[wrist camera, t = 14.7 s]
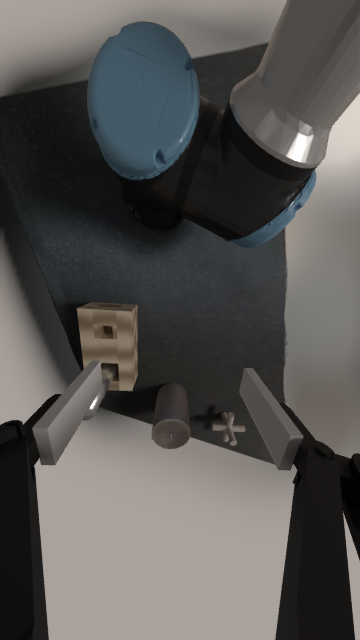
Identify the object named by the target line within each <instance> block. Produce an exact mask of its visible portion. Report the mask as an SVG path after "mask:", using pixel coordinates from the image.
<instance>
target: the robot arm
mask: <svg viewBox="0 0 360 640" xmlns="http://www.w3.org/2000/svg"><path fill="white" fill-rule="evenodd" d="M359 93H360V0H287V2H286V4H285V7H284V9H283V11H282V14H281V16H280V19H279V21H278V23H277V26H276V28H275V30H274V33H273V35H272V38H271V40H270V42H269V45H268V47H267V49H266V52H265V54H264V56H263V59H262V61H261V63H260V65H259V67H258V69H257V70H256V72H254V73H253V74H251V75H250V76H248V77H247V78H245V79H244V80H242V81H241V82H239V83H238V84H237V85H235V87H234V88H233V90H232V92H231V95H230V98H229V100H228V103H227V106H226V109H225V110H223V109H221V108H220V107H218V106H217V105H215V104H214V103H212V102H210V101H209V100H207V99H206V98H204V97H203V96H201V95H200V94H199V83H198V79H197V75H196V73H195V71H194V69H193V66H192V59H191V56H190V54H189V53H188V51H187V49H186V47H185V46H184V44H183V43H182V42H181V40H180V39H179V38H178V37H177V36H176V35H175V34H174V33H173V32H171V31H170V30H169V29H167V28H166V27H164V26H161V25H159V24H156V23H152V22H135V23H131V24H129V25H126V26H124V27H122V29H121V31H120V33H119V34H118V35H116V36H113V37H109V38H108V39H107V41H106V42H105V43H104V44H103V46H102V47H101V49H100V51H99V52H98V54H97V56H96V58H95V61H94V63H93V66H92V69H91V72H90V76H89V82H88V90H87V107H88V115H89V120H90V124H91V128H92V131H93V134H94V136H95V139H96V141H97V143H98V145H99V147H100V149H101V152H102V155H103V157H104V159H105V160H106V162H107V163H108V164H109V166H110V167H111V168H112V170H114V172H115V173H116V175H117V176H118V178H119V179H120V181H121V182H122V188H123V194H124V198H125V201H126V204H127V206H128V208H129V210H130V211H131V213H132V214H133V215H134V216H135V218H136V219H137V220H138V221H139V222H140V223H142V224H143V225H145V226H147V227H149V228H151V229H155V230H166V229H170V228H172V227H174V226H176V225H178V224H179V223H180V222H181V221H182V220H183V219H184V218H186V219H188V220H190V221H192V222H194V223H196V224H197V225H199V226H201V227H203V228H205V229H207V230H209V231H211V232H213V233H214V234H216V235H218V236H220V237H222V238H223V239H224V240H225V241H228V242H232V243H235V244H237V245H239V246H241V247H244V248H253V247H256V246H259V245H261V244H263V243H265V242H267V241H268V240H270V239H271V238H273V237H274V236H275V235H276V234H278V233H279V232H280V231H281V230H282V229H283V228H284V227H285V226H286V225H287V224H288V223H289V222H290V221H291V220H292V219H293V218H294V217H295V212H296V211H297V210H298V209H300V208H301V207H303V205H304V204H305V202H306V201H307V199H308V198H309V196H310V194H311V192H312V190H313V188H314V185H315V182H316V172H315V168H316V167H317V166H318V165H319V164H320V163H321V162H322V160H323V159H324V158H325V155H326V149H327V143H328V138H329V133H330V131H331V128H332V125H334V123H335V122H336V121H337V120H338V118H339V117H340V116H341V115H342V113H343V112H344V111H345V110H346V108H347V107H348V106H349V105H350V104H351V103H352V101H353V100H354V99H355V98H356V97H357V95H358V94H359ZM102 387H103V386H102V373H101V361H94V360H92V361H91V362H90V363H89V364H88V365H87V366H86V368H85V369H84V370H83V371H82V372H81V373H80V375H79V376H78V377H77V378H76V379H75V380H74V381H73V382H72V383H71V385H70V386H69V387H68V388H67V389H66V390H65V391H64V393H63V394H55V395H53V396H52V397H50V398H49V399H48V400H46V402H45V403H44V404H43V405H42V406H41V407H40V408H39V409H38V410H37V412H35V413H34V414H33V415H32V416H31V417H30V418H29V419H28V420H27V421H26V422H25V423H24V425H23V423H22V422H21V421H19V420H12V421H8V422H5V423H3V424H1V425H0V640H49V637H48V625H47V613H46V600H45V588H44V577H43V563H42V550H41V538H40V526H39V513H38V501H37V489H36V476H35V467H34V465H35V463H36V462H37V461H38V459H39V458H40V462H41V465H55V464H56V463H57V461H58V460H59V458H60V456H61V455H62V453H63V451H64V450H65V448H66V446H67V445H68V443H69V441H70V440H71V438H72V436H73V435H74V433H75V431H76V430H77V428H78V426H79V425H80V423H81V421H82V420H83V418H84V417H85V415H86V413H87V412H88V410H89V408H90V407H91V405H92V403H93V402H94V400H95V398H96V397H97V395H98V393H99V392H100V390H101V388H102ZM239 393H240V395H241V397H242V399H243V401H244V403H245V405H246V407H247V409H248V411H249V413H250V415H251V417H252V419H253V421H254V423H255V425H256V427H257V429H258V431H259V433H260V435H261V437H262V439H263V441H264V443H265V445H266V447H267V449H268V451H269V453H270V455H271V457H272V459H273V461H274V463H275V465H276V466H277V469H278V470H291V467H292V465H293V464H294V465H295V467H296V468H297V470H298V471H297V473H296V476H295V478H294V480H293V483H294V484H295V486H294V494H293V502H292V511H291V518H290V527H289V535H288V543H287V551H286V559H285V567H284V575H283V583H282V591H281V599H280V607H279V615H278V623H277V631H276V639H275V640H355V634H354V624H353V613H352V602H351V593H350V582H349V571H348V560H347V550H346V539H345V529H344V518H343V512H344V515H345V518H346V521H347V524H348V527H349V530H350V533H351V536H352V539H353V542H354V545H355V548H356V550H357V554H358V557H359V560H360V454H358V453H356V454H353V456H352V458H351V459H350V458H347V457H344V456H341V455H337V454H335V453H334V452H333V450H331V449H330V448H329V447H328V446H326V445H325V444H323V443H321V442H319V441H316V440H315V438H314V437H313V436H312V435H311V433H310V432H309V431H308V430H307V428H306V427H305V426H304V425H303V424H302V422H301V421H300V420H299V419H298V417H297V416H295V414H294V412H293V411H292V410H291V409H290V408H289V407H288V406H287V405H285V404H284V403H278V402H277V400H276V399H275V398H274V396H273V395H272V394H271V392H270V391H269V390H268V388H267V387H266V386H265V384H264V383H263V382H262V380H261V379H260V378H259V376H258V375H257V374H256V372H255V371H254V370H253V368H244V373H243V377H242V382H241V387H240V391H239Z"/></svg>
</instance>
